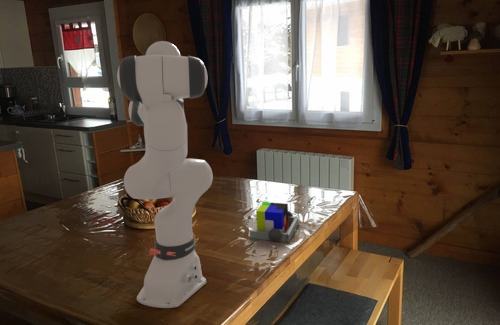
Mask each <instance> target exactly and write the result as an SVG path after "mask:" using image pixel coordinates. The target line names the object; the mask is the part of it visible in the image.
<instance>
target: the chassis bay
mask: <svg viewBox="0 0 500 325" xmlns="http://www.w3.org/2000/svg"><path fill="white" fill-rule="evenodd" d="M299 222H300V220H299V216H293V213H292V212H291V211H290V210H288V225H290V226H289V227H288V229H287V231H286V232H285V233H281V231H280V230H279V229H276V228H273V229H271V230H270V231H260V230H257V229H250V230H249V235H250V236H249V238H250V239H255V240H266V241H272V242H274V243H275V242H276V243H278V242H283V243H284V242H286V243H289V242H290V243H291V240H292V237H293V236H294V234H295V231H296V230H297V227H298V226H299Z"/></svg>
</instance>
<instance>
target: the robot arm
mask: <svg viewBox="0 0 500 325" xmlns="http://www.w3.org/2000/svg"><path fill="white" fill-rule="evenodd" d="M116 79H117V83H118V87H119V88H120V90H121V93H122V94H123V95H124V96H125V98H126V99H127V100H129V105H128V117H129V119H130V121H131V122H132V123H133V124H134V125H136V126H137V127H143V135H144V143H145V144H144V145H145V152H144V155H143V156H142V157H141V159H140V160H138V161H137V162H136V163H134V164H133V165H131V166H129V167H128V168H127V170H126V172H125V174H124V176H123V186H124V189H125V191H126V193H127V194H128V195H129V196H130V197H131V198H132V199H137V200H150V201H151V200H157V199H166V198H173V199H172V201H170V203H169V204H167V205H165V206H164V207H162V208H161V209H160V210H158V211H157V213H156V214H155V217H154V221H153V222H154V230H155V238H156V239H155V241H154V242H155V243H154V247H153V248H152V247H151V248H150V249H149V255H150V256H153V258H152V260H151V263H150V264H149V267H148V269H147V272H146V274H145V276H144V279H143V287H142V288H141V290H140V291H139V293H138V294H137V296H136V301H137V302H138V303H139V304H141V305H144V306H146V307H152V308H158V309H159V308H161V309H171V308H172V309H173V308H177V307H180V306H181V305H182V304H184V302H186V301H187V300H188V299H190V298H191V297H192V296H193V295H194V294H195V293H196V292H197V291H199V290H200V289H201V288H202V287H203V286H204V285H206V284H207V279H206V277H204V276H203V274H202V273H203V272H202V267H201V266H202V265H201V261H200V260H201V259H200V257H199V255H198V254H197V252H196V250H195V247H196V240H195V236H194V235H193V212H194V208H195V206H196V204H197V202H198V200H199V199H200V197H201V196H202V195H203V194H205V193H206V192H207V191H208V189H209V188H210V187H211V186H212V184H213V179H214V178H213V171H212V168H211V166H210V165H209V163H208V162H207V161H206V160H205V159H198V158H190V157H189V158H187V157H188V123H187V119H186V114H185V109H184V108H185V107H184V99H188V98H189V99H190V100H191V99H195V98H196V99H197V98H199V97H202V96H203V95H204V93H205V91H206V88H207V85H208V80H209V79H208V71H207V68H206V66H205V63H204V62H203V60H201V59H200V58H199V57H195V56H191V55H187V56H185V55H184V56H183V55H181V53H180V51H179V49H178V48H177V46H176V45H174V44H173V43H171V42H170V41H167V40H166V41H164V40H161V41H160V40H159V41H155V42H154V43H152V44H151V45H150V46H149V47H148V48H147V50H146V52H145V54H144V55H139V56H138V55H130V56H126V57H124V58H122V59H121V60H120V62H119V66H118V69H117V73H116Z"/></svg>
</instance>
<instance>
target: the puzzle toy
mask: <svg viewBox="0 0 500 325" xmlns="http://www.w3.org/2000/svg"><path fill="white" fill-rule="evenodd" d="M288 211H289V204H288V203H281V202H270V201H269V202H267V201H263V202H261V204H260V206H259V207H258V208H257V209H256V212H255V214H256V215H255V216H256V217H255V218H256V230H260V231H270V230H271V229H273V228H276V229H279V230H280V231H281V233H287V231H288V229H289V224H288Z"/></svg>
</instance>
